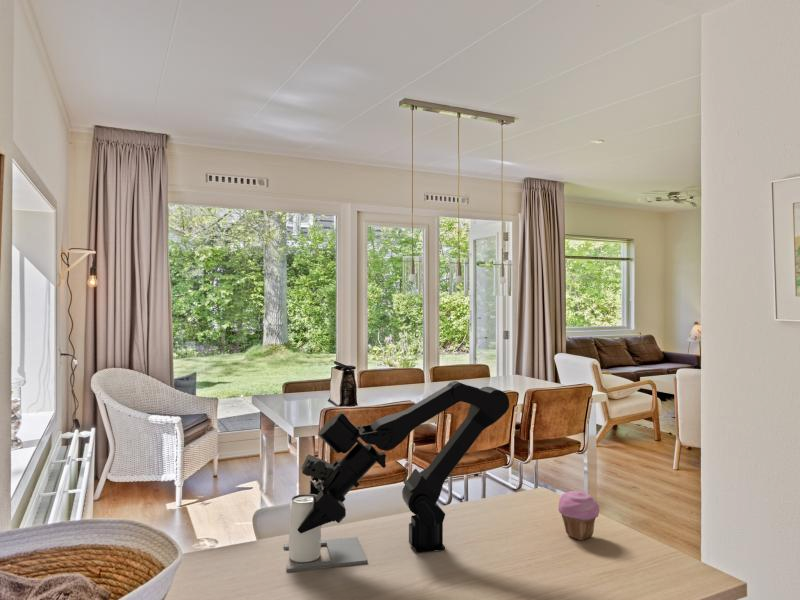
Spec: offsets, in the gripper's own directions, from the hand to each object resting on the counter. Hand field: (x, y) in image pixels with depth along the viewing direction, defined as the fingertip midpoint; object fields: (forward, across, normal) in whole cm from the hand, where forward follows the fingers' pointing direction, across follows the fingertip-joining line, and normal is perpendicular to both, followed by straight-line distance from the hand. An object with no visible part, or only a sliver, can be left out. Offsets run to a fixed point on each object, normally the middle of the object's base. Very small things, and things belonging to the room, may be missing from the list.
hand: (298, 524), depth 115 cm
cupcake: (-39, +2, +49) cm, 63 cm away
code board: (+1, 0, +8) cm, 9 cm away
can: (+4, 0, +6) cm, 7 cm away
